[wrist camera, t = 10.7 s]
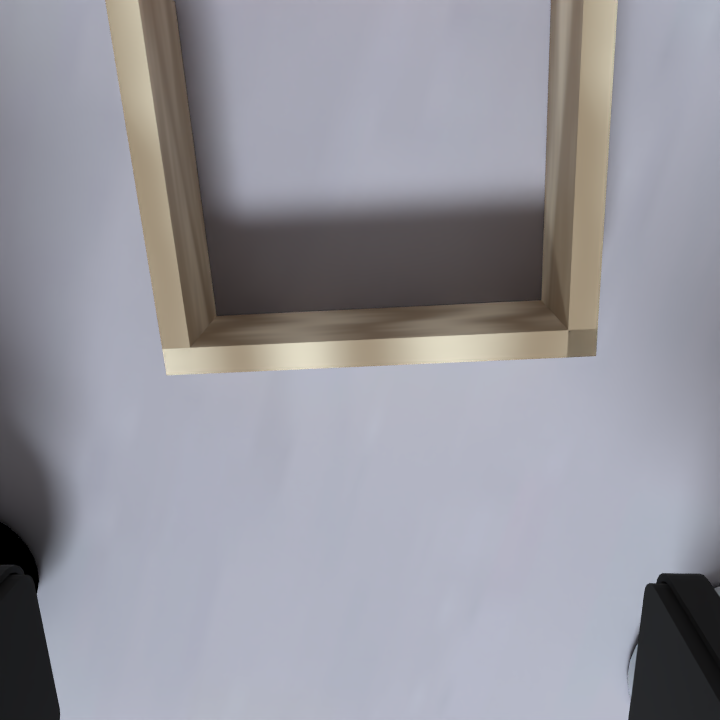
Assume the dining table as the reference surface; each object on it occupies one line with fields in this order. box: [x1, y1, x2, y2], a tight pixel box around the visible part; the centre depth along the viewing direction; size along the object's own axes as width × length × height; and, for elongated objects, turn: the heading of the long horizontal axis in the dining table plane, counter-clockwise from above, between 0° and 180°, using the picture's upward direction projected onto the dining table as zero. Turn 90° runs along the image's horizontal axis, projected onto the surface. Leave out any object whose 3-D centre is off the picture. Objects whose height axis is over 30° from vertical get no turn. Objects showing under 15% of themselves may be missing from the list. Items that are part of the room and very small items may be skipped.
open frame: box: [105, 0, 618, 375], centre depth 29 cm, size 18×15×5 cm
